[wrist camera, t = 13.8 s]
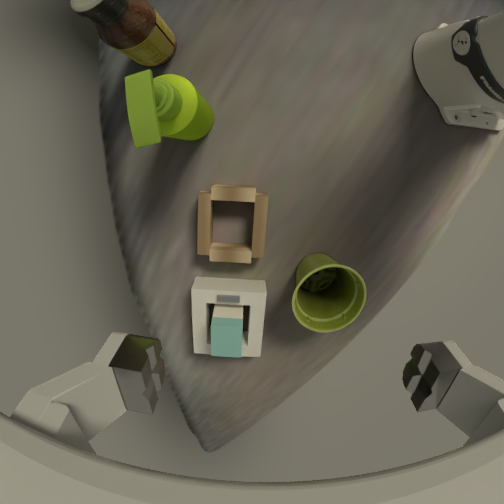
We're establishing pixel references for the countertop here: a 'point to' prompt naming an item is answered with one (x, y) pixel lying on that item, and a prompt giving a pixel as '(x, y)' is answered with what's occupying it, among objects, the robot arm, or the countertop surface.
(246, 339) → the port
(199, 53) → the countertop surface
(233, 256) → the brown wooden square frame
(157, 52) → the sauce bottle
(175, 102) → the soap dispenser
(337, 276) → the plant pot
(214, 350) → the plug
